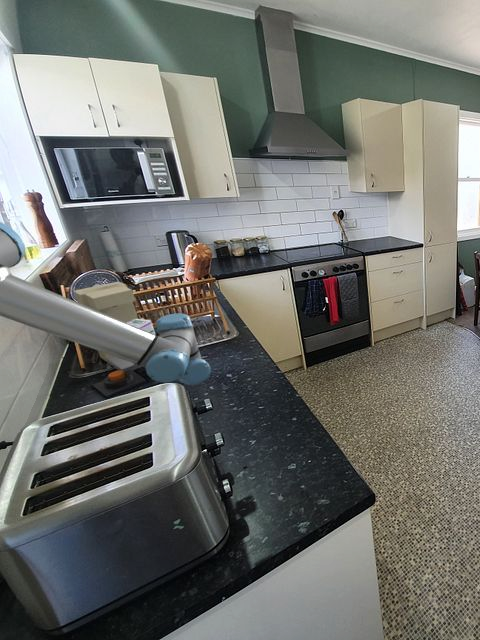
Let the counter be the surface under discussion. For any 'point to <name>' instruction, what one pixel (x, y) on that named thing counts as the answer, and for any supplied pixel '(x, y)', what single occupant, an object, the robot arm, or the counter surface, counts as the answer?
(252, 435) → the counter surface
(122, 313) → the coffee machine
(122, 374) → the button
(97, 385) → the control block
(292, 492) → the counter surface
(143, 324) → the syrup box
